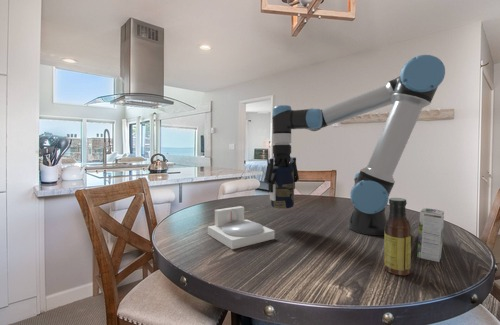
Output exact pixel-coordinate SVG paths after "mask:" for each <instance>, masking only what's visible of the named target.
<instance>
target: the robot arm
mask: <svg viewBox="0 0 500 325" xmlns="http://www.w3.org/2000/svg"><path fill="white" fill-rule="evenodd" d="M445 76H446V67H445V64H444V63H443V61H442V60H441V59H440V58H438V57H437V56H435V55H432V54H420V55H417V56H414V57H413V58H411V59H409V60H408V61H407V62H406V63H405V64H404V65H403V66H402V68H401V71H400V75H399V76H398V77H396V78H393V79H391V80H389V81H387V82H386V85H385V84H384V85H383V86H379V87H378V88H376V89H372V90H369V91H367V92H364V93H362V94H359V95H356V96H353V97H350V98H348V99H346V100H343V101H339V102H337V103H335V104H332V105H330V106H327V107H324V108H322V109H321V108H307V109H294V110H293V109H292V107H291V105H287V104H283V105H282V104H280V105H275V106H274V107H273V109H272V116H271V118H272V119H271V120H272V144H273V145H272V155H273V157H268V158H267V159H266V160H267V161H266V162H267V165H266V170H265V173H264V174H265V176H264V179H263V181H264V183H265V184H268V192H269V201H271V200H273V201H276V196H275V184H274V182H275V179H276V173H272V171H273V167H287V166H288V167H290V166H291V167H293V170H294V190H295V189H296V183H297V182H298V181H299V179H300V177H299V172H298V168H297V157H294V156H293V157H291V154H292V145H291V143H292V130H309V131H311V132H317V131H320V130H322V129H324V128H326V127H328V126H329V127H330V126H332V125H335V124H338V123H340V122H344V121H346V120H349V119H352V118H355V117H358V116H361V115H363V114H367V113H369V112H373V111H376V110H377V109H382V108H384V107H387V106H390V105H392V107H391V109H390V111H389V113H388V116H387V119H386V121H385V123H384V124H383V127H382V130H381V133H380V135H379V137H378V140H377V142H376V143H375V144H376V145H375V147H374V149H373V152H372V154H371V157H370V158H369V161H368V163H367V166H366V167H363V168H361V169H360V171H359V172H356V173H355V175H354V186H353V187H352V188H351V190H350V200H351V203H352V205H353V210H352V212H351V216H350V218H349V220H348V229H350V230H351V231H353V232H354V233H355V232H356V233H358V234H362V235H369V236H383V235H384V236H385V233H384V232H385V225H386V222H387V220H388V216H387V214H386V207H387V205H388V203H389V199H390V198H389V196H390V194H391V192H392V190H393V188H394V185H395V184H396V181H395V179H394V177H393V176H394V173H395V171H396V169H397V166H398V164H399V161H400V159H401V157H402V155H403V153H404V152H405V148H406V146H407V144H408V142H409V139H410V138H411V135H412V133H413V130H414V128H415V125H416V123H417V122H418V119H419V117H420V114H421V113H422V110H423V108H427V107H428V106H430V105H431V104H432V101H433V99H434V96H435V94H436V91H437V89H438V88H439V86H440V85H441V83H442V82H443V81H444V79H445Z"/></svg>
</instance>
